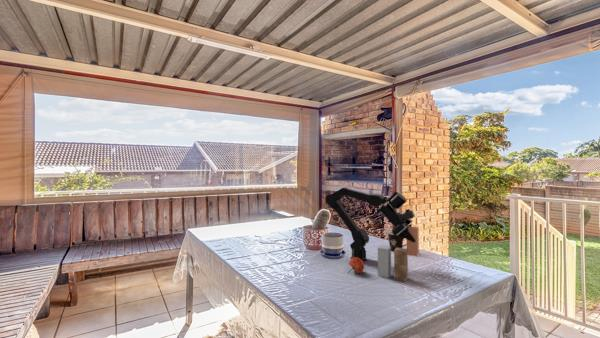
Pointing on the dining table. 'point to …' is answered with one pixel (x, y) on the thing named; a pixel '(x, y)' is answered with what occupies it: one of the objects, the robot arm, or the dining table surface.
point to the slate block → (384, 261)
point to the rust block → (413, 246)
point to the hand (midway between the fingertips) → (415, 240)
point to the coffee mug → (395, 241)
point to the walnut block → (400, 264)
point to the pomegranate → (357, 264)
